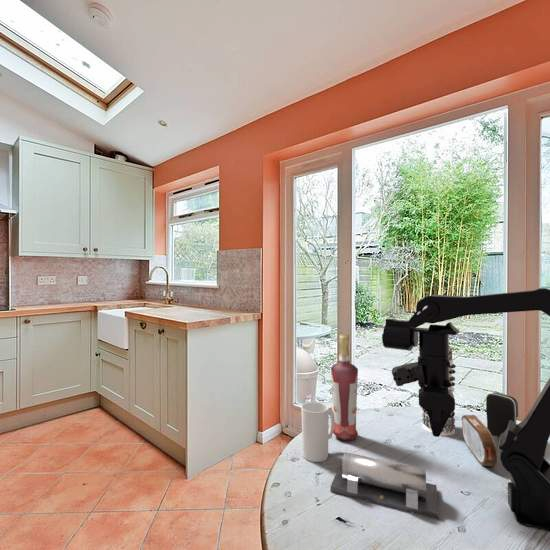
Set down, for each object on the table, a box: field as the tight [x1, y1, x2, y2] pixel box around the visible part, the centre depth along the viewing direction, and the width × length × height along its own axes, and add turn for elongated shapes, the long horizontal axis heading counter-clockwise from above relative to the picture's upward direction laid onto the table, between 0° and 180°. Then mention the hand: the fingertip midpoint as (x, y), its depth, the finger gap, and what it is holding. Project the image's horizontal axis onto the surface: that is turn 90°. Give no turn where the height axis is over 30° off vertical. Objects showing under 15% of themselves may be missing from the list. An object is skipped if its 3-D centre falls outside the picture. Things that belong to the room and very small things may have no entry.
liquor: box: [330, 334, 359, 441], centre depth 91 cm, size 7×7×28 cm
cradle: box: [330, 463, 440, 520], centre depth 67 cm, size 20×10×4 cm, turn 66°
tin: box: [461, 414, 498, 468], centre depth 81 cm, size 15×3×8 cm, turn 168°
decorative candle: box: [421, 345, 456, 437], centre depth 95 cm, size 9×9×25 cm
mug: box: [300, 401, 335, 463], centre depth 82 cm, size 10×7×12 cm, turn 125°
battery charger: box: [485, 392, 519, 438], centre depth 90 cm, size 7×4×11 cm, turn 34°
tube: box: [341, 452, 427, 498], centre depth 67 cm, size 16×5×5 cm, turn 66°
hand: (434, 426), depth 70 cm, fingers open, 9 cm apart
